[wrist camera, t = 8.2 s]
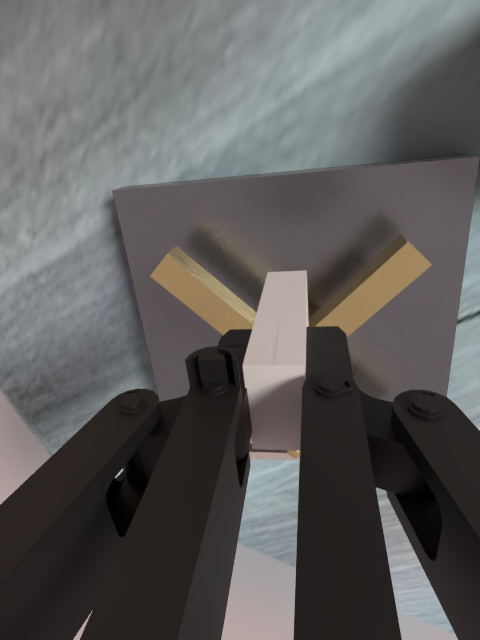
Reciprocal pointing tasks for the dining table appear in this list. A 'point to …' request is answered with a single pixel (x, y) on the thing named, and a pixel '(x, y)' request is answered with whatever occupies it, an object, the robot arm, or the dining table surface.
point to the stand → (309, 259)
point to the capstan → (341, 310)
